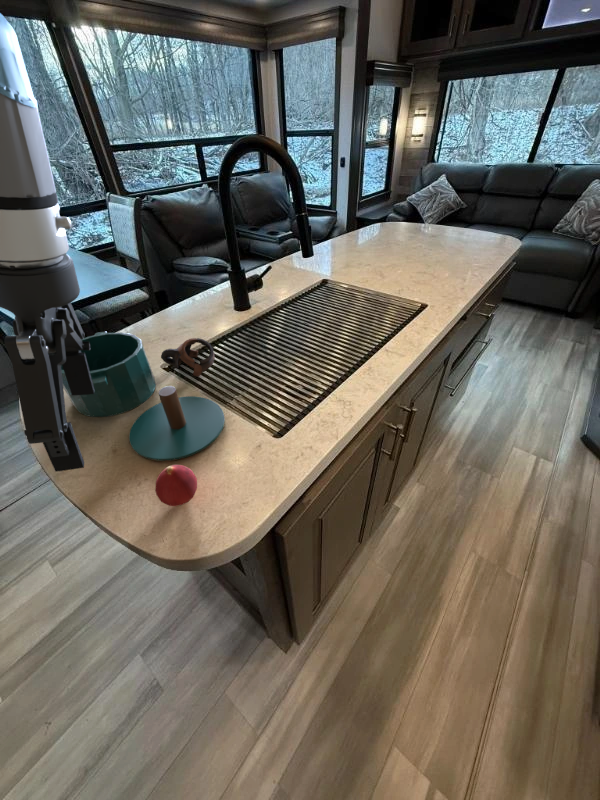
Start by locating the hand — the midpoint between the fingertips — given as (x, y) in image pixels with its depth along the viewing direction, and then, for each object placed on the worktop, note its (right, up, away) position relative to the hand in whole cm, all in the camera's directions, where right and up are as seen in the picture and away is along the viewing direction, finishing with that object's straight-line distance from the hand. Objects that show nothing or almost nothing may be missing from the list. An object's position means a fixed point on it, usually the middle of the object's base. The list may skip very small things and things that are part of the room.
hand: (77, 426), depth 42 cm
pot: (-12, +5, +31) cm, 34 cm away
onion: (+10, -12, +9) cm, 19 cm away
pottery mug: (+2, +11, +39) cm, 41 cm away
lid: (+5, -2, +22) cm, 22 cm away
